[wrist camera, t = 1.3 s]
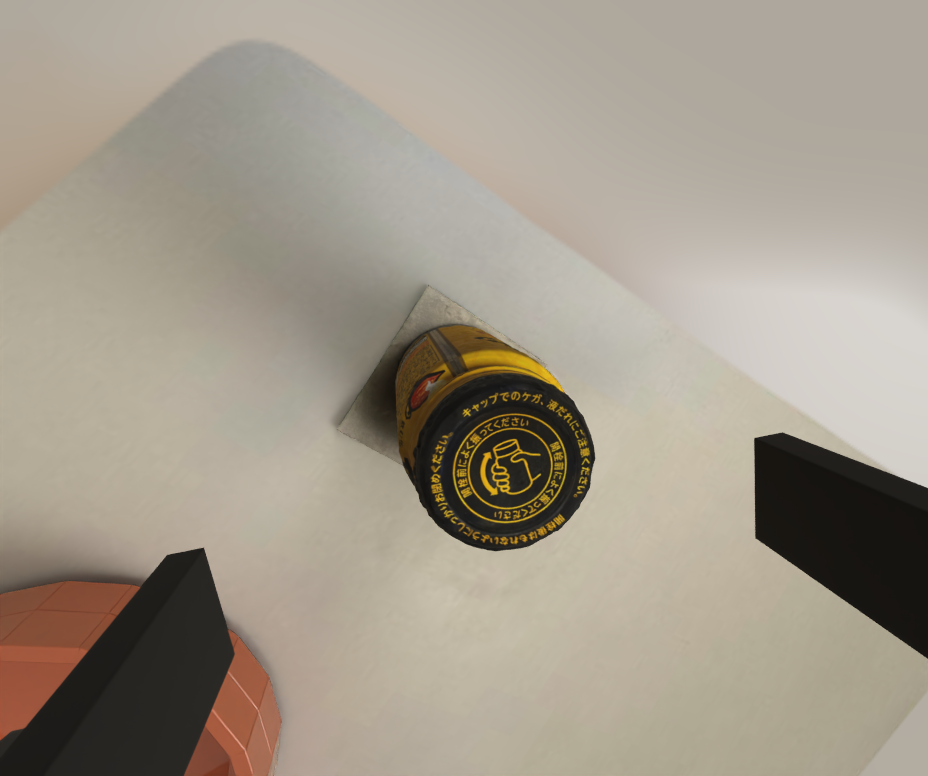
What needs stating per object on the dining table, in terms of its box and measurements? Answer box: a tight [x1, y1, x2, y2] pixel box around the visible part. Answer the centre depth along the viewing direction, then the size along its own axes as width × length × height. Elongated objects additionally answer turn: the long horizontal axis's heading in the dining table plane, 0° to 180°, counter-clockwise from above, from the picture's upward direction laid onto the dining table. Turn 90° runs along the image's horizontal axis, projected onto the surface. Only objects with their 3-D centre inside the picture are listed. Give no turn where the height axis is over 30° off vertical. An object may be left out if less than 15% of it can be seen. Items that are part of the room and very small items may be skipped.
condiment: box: [337, 285, 595, 551], centre depth 20 cm, size 7×8×12 cm
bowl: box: [0, 581, 282, 776], centre depth 24 cm, size 19×19×5 cm
